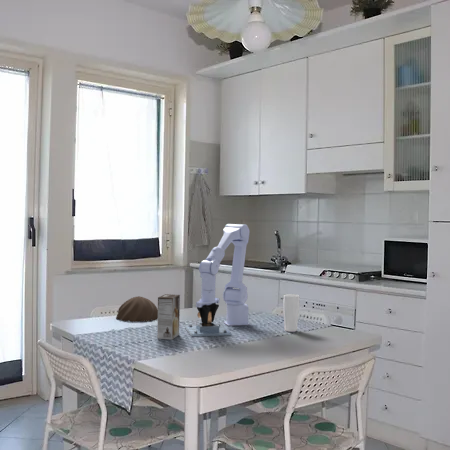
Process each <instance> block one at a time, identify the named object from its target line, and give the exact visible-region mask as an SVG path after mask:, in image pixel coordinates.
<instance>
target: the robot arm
mask: <svg viewBox="0 0 450 450" xmlns="http://www.w3.org/2000/svg"><path fill="white" fill-rule="evenodd" d="M222 232H223V235H222V237H221V238H220V240H219V243H218V245H217V246H214V247H213V248H212V249H211V250H210V252H209V254H208V255H207V257H206V258H205V259H204V260H201V262H200V263H199V266H198V271H199V273H200V275H199V277H200V278H201V285H200V286H201V287H200V288H201V290H200V292H201V293H200V294H201V295H200V296H201V297H200V298H199V300H198V301H196V302H195V307H196V309H197V311H198V312H199V313H200V316H201V318H200V320H201V323H203V324H207V322H208V314H209V311H212V322H214V320H215V316H216V314H217V311H218V309H219V306H220V305H219V304H220V298H218V297H216V275H217V274H218V272H219V271H220V270H219V269H220V266H221V265H220V264H221V262H222V260H223V259H224V257H225V255H226V253H225V252H226V250H227V248H228V247H229V245H231V243H232V244H233V246H234V249H233V257H232V258H233V259H232V265H231V266H232V267H231V274H230V280H229V282H227V283H226V284H225V285H224V290H223V293H222V299H223V301H224V303H225V304H226V320H225V321H224V320H223V323H224V324H225V325H226V326H229V327H230V326H231V327H232V326H249V325H250V323H249V314H250V313H249V310H250V309H249V306H248V304H247V303H246V302H247V300H248V286H247V285H245V284H244V283H243V280H244V279H243V278H244V277H243V276H244V272H245V271H244V269H245V260H246V252H247V245H248V244H249V238H250V234H251V233H250V228H249V226H248V224H246V223H244V224H241V223H236V224H235V223H227V224H225V226H224V228H223V231H222Z"/></svg>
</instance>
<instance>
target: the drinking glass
mask: <svg viewBox="0 0 450 450" xmlns="http://www.w3.org/2000/svg"><path fill="white" fill-rule="evenodd" d="M300 299H301V298H300V295H299V294H297V293H296V294H293V293H287V294H283V299H282V301H283V302H282V304H283V305H282V307H283V322H284V331H285V332H289V333H293V332H297V331H298V321H299V312H300V302H301V301H300Z"/></svg>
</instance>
